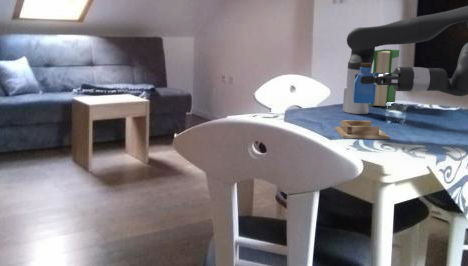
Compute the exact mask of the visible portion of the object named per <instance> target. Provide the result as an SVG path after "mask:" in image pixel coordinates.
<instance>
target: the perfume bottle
mask: <svg viewBox="0 0 468 266" xmlns="http://www.w3.org/2000/svg"><path fill="white" fill-rule="evenodd" d="M370 66H371V63H361V67H360V70H361V73H358V75H357V77H356V79H355V80H354V94H353V102H354V103H369V105H370V104H375V89H376V85H375V84H374V83H373V84H362V83H361V82H360V81H361V76H373V75H372V74H370V71H371V68H372V69H373V66H372V67H370Z"/></svg>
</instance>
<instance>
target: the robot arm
mask: <svg viewBox="0 0 468 266" xmlns="http://www.w3.org/2000/svg"><path fill="white" fill-rule="evenodd" d="M463 22H466V24H467V27H468V5H465V6H461V7H458V8H454V9H450V10H447V11H441V12H437V13H433V14H432V13H431V14H426V15H419V16H413V17H409V18H405V19H400V20H397V21H394V22H390V23H387V24H383V25H378V26H377V25H376V26H366V27H365V26H364V27H361V26H360V27H355V28H354V29H352V30H351V31H350V32H348V35H347V37H346V45H347V46H348V47H349V49H350V56H349V57H350V58H349V59H348V62H347V71H346V72H347V75H346V87H344V88H343V100H342V101H343V102H342V112H345V113H348V114H353V115H354V114H355V115H364V114H365V115H366V114H369V110H370V103H354V102H353V94H354V80H355V79H356V77H357V75H358V73H361V70H360V67H361V63H371V66H370V67H372V68H371V71H370V74H372V75H373V76H361V81H360V82H361V83H362V84H373V83H374V84H375V85H376V84H377V85H381V86H384V85H385V86H391V85H393V87H394V89H395V91H396V92H424V91H425V92H427V91H428V92H431V91H432V92H434V91H435V92H441V93H444V94H448V95H451V96H456V97H465V96H468V42H466V43H465V44H464V45H463V47H462V48H461V51H460V53H459V57H458V58H457V63H456V64H457V65H456V68H455V71H454V72H453V74H452V77H451V78H448V72H447V71H446V70H445V69H444V68H439V67H437V68H436V67H428V68H427V67H420V66H398V67H397V68H396V69H395V70H394V74H393V75H391V74H392V73H389V72H383V73H378V72H376V73H373V65H374V53H375V50H376V48H378V47H382V46H387V45H388V46H390V45H392V46H393V45H409V44H417V43H423V42H427V41H430V40H432V39H434V38H435V37H436V36H438V35H439V34H441V33H442V32H443V31H445V30H446V29H447V28H449V27H451V26H453V25H456V24H458V23H459V24H460V23H463Z"/></svg>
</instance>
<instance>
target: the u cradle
mask: <svg viewBox="0 0 468 266" xmlns="http://www.w3.org/2000/svg"><path fill="white" fill-rule="evenodd" d="M334 131H336V132H337V134H338V135H340V136H341V138H343V139H366V140H367V139H369V140H370V139H371V140H372V139H373V140H374V139H375V140H390V136H389V135H388V134H387V133H385V131H383V130H381V129H380V126H378V125H376V126H373V125H372V120H356V119H355V120H352V119H351V120H347V119H346V120H345V119H341V120H340V126H334Z"/></svg>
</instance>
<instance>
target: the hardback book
mask: <svg viewBox="0 0 468 266" xmlns="http://www.w3.org/2000/svg"><path fill="white" fill-rule="evenodd" d="M399 57H400V49H387V48H386V49H385V48H384V49H383V48H382V49H377V50H376V49H375V53H374V61H373V64H372V73H376V72H378V73H383V72H389V73H392V74H391V75H393V74H394V70H395V69H396V68H397V67H399V59H400V58H399ZM396 93H397V91H395V89H394V87H393V85H391V86H385V85H384V86H381V85H377V84H376V89H375V104H370V103H369V108H373V107H375V106H378V107H386V106H385V105H386V103H387V102H395V103H396V95H397V94H396Z"/></svg>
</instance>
